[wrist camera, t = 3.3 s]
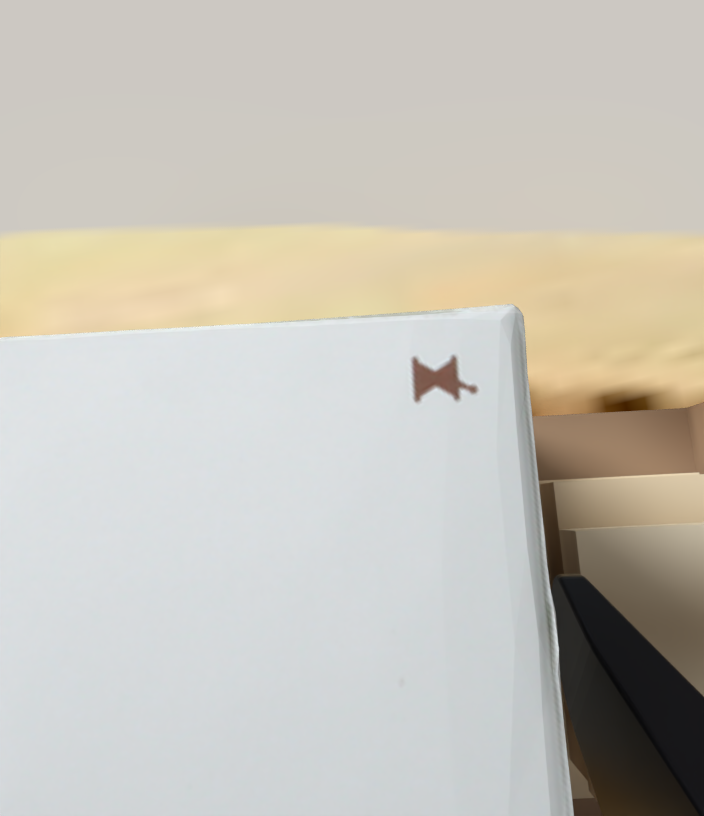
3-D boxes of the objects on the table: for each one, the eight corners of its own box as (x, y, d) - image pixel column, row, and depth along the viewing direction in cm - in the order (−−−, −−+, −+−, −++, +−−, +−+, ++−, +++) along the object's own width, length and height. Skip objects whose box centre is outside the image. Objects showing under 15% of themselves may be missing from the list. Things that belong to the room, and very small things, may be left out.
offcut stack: (721, 770, 16) (825, 846, 12) (551, 777, 16) (604, 855, 12) (676, 475, 17) (757, 464, 13) (520, 483, 17) (560, 475, 14)
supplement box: (201, 447, 19) (-135, 313, 6) (428, 438, 18) (548, 284, 6) (197, 689, 17) (-243, 1137, 5) (442, 682, 17) (634, 1131, 5)
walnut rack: (763, 830, 16) (935, 970, 11) (478, 841, 16) (525, 983, 11) (694, 412, 18) (813, 375, 13) (444, 426, 18) (471, 394, 14)
